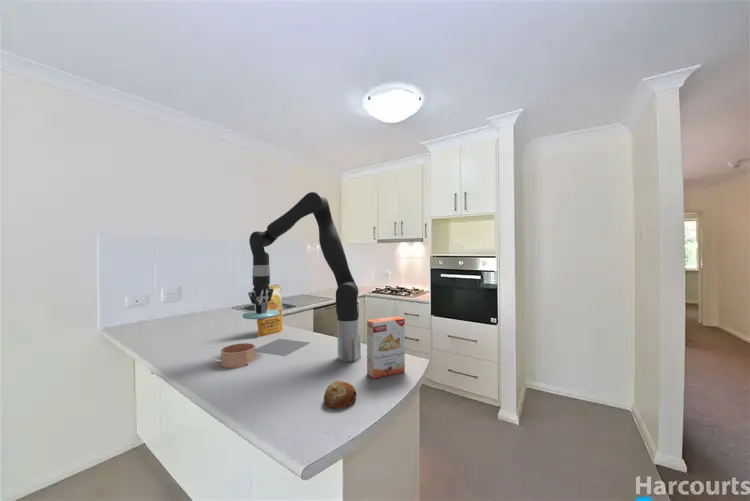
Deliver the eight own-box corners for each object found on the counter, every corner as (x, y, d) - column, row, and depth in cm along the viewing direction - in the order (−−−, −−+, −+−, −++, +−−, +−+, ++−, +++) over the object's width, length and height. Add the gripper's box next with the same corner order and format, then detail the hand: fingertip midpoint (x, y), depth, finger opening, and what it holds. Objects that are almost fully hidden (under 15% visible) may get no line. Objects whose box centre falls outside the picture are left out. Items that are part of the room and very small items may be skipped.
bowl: (261, 358, 132) (260, 345, 132) (237, 369, 120) (237, 354, 120) (239, 355, 137) (238, 342, 137) (214, 365, 125) (214, 351, 125)
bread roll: (331, 404, 99) (320, 383, 99) (358, 390, 100) (348, 369, 99) (329, 422, 89) (317, 398, 89) (359, 405, 90) (348, 382, 90)
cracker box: (373, 380, 109) (372, 322, 109) (366, 374, 114) (365, 319, 114) (405, 372, 115) (405, 318, 115) (397, 366, 121) (396, 315, 121)
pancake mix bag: (250, 337, 165) (249, 286, 165) (280, 329, 180) (279, 283, 180) (256, 339, 161) (255, 287, 161) (287, 331, 176) (286, 284, 175)
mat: (311, 344, 151) (311, 342, 151) (285, 357, 133) (285, 355, 133) (279, 340, 159) (279, 338, 159) (250, 352, 140) (250, 350, 140)
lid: (286, 313, 142) (286, 300, 142) (261, 320, 128) (261, 306, 128) (261, 310, 149) (261, 298, 149) (234, 317, 134) (234, 304, 134)
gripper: (255, 276, 130) (256, 315, 130) (278, 273, 143) (278, 309, 143) (243, 275, 133) (243, 314, 133) (266, 273, 146) (266, 308, 146)
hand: (261, 311), depth 138 cm, fingers closed on lid, 3 cm apart
